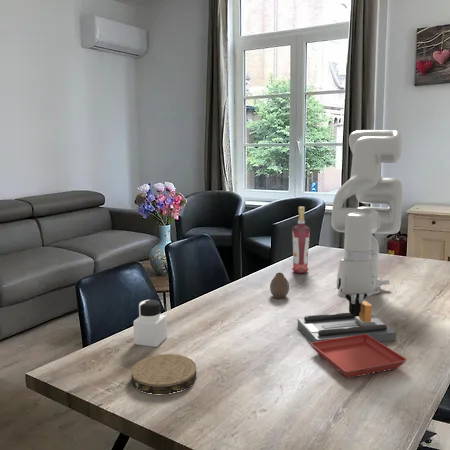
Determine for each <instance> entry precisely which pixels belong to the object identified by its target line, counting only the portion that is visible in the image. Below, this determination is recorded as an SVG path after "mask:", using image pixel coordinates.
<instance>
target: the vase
mask: <svg viewBox="0 0 450 450" xmlns="http://www.w3.org/2000/svg"><path fill="white" fill-rule="evenodd" d="M289 290H290V283H289V281H288V279H287V278H286V276H285V275H284V273H283V272H276V273H275V276H274V277H273V278H272V279H271V281H270V283H269V291H270V293H271V295H272V296H273V297H274V298H275V299H284V298H286V297H287V295H289Z"/></svg>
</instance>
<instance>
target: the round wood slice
mask: <svg viewBox="0 0 450 450" xmlns="http://www.w3.org/2000/svg"><path fill="white" fill-rule="evenodd" d="M130 375H131V385H132V384H133V385H132V386H133V387H135V388H137V389H138V390H140V391H143V392H146V393H152V394H169V393H173V392H177V391H181V390H184V389H186V388H188V389H190V388H191V387H192V386H193V385H194V384H196V380H197V377H198V376H197V364H196V362H195V361H194V360H193V359H191V358H189V357H188V356H183V355H180V354H172V353H165V354H154V355H152V356H148V357H144V358H143V359H140V360H139V361H137V362H135V363H134V365H133V366H132V368H131V372H130ZM191 385H192V386H191ZM190 386H191V387H190ZM189 387H190V388H189ZM135 388H134V389H135ZM137 389H136V390H137ZM138 390H137V391H138ZM186 390H187V389H186ZM140 391H139V392H140ZM184 391H185V390H184ZM146 393H145V394H146Z"/></svg>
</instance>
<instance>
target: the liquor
mask: <svg viewBox="0 0 450 450" xmlns="http://www.w3.org/2000/svg"><path fill="white" fill-rule="evenodd" d="M297 208H298V209H297V211H298V218H297V224H296V225H294V226H293V227H292V228H291V229H292V230H291V231H292V232H291V233H292V234H291V235H292V265H293V267H292V268H291V270H292V271H293V272H295V274H303V275H304V274H305V273H307V272H308V271H309V268H308V266H309V265H308V263H309V261H308V260H309V249H310V247H309V246H310V232H311V228H310V227H309V226H308V225H306V224H305V223H306V221H305V210H306V207H305V206H298V207H297Z"/></svg>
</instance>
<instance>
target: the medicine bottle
mask: <svg viewBox="0 0 450 450" xmlns="http://www.w3.org/2000/svg"><path fill="white" fill-rule="evenodd" d="M138 313H139V314H138V315H139V316H138V317H137V318H136V319H135V320H133V323H132V324H133V338H134V339H133V341H134V345H138V346H143V347H150V348H151V347H152V348H157V347H159V345H160V344H162V343H163V342H164V341H165V340H166V339H168V329H167V327H168V326H167V324H168V323H167V315H166V314H161V302H160V301H158V300H156V299H146V300H142V301H140V302H139V304H138Z"/></svg>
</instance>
